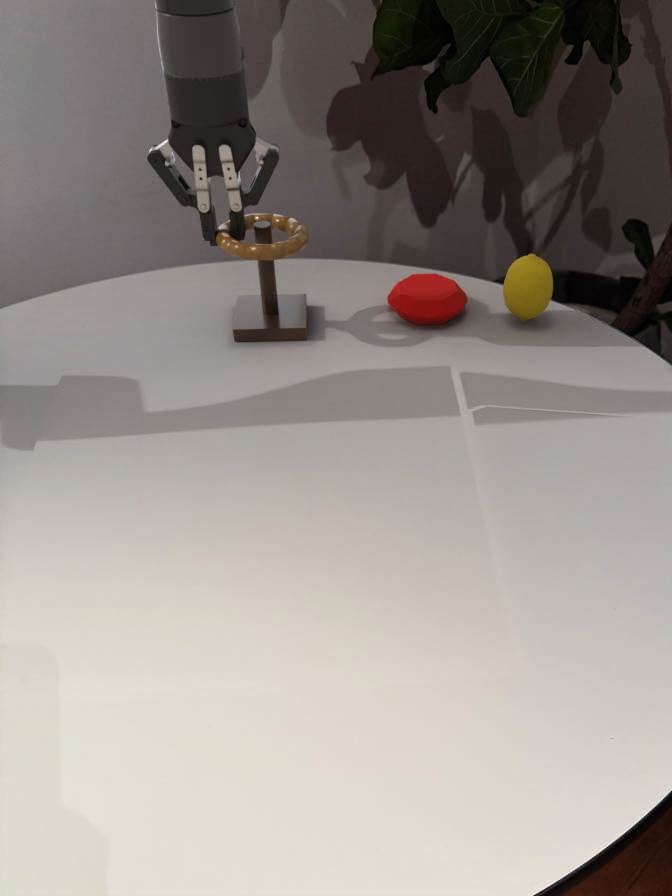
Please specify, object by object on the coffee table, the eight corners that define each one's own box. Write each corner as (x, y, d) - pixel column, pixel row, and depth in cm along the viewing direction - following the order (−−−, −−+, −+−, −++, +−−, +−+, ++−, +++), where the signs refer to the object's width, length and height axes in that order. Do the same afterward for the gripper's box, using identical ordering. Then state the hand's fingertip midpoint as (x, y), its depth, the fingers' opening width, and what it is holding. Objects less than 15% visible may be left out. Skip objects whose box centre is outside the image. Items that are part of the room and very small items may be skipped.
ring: (214, 262, 89) (212, 247, 88) (220, 225, 96) (219, 210, 95) (308, 263, 90) (308, 248, 89) (308, 226, 97) (307, 211, 96)
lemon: (547, 310, 103) (556, 245, 97) (548, 334, 99) (558, 267, 93) (500, 307, 103) (507, 242, 98) (499, 330, 99) (506, 264, 93)
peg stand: (234, 341, 96) (221, 241, 88) (238, 307, 102) (226, 209, 94) (307, 339, 97) (300, 239, 89) (307, 305, 103) (300, 208, 95)
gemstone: (412, 336, 98) (412, 312, 96) (375, 302, 103) (375, 278, 101) (479, 318, 101) (481, 294, 99) (440, 286, 107) (441, 263, 105)
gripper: (121, 75, 78) (155, 260, 89) (276, 74, 79) (290, 257, 90) (133, 52, 83) (164, 229, 95) (278, 51, 84) (291, 227, 96)
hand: (226, 242), depth 93 cm, fingers closed on ring, 2 cm apart
